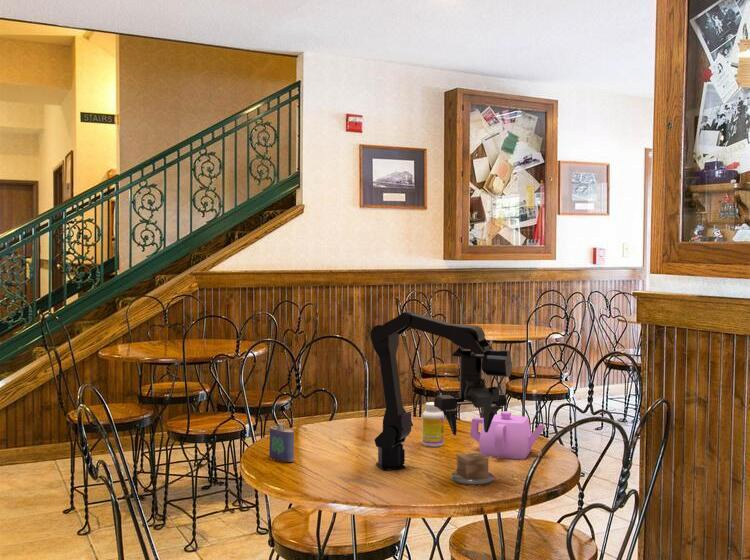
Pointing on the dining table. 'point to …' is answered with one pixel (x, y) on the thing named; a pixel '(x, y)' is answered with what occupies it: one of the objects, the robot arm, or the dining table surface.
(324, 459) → the dining table surface
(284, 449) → the flask
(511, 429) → the teakettle
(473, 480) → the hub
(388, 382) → the robot arm
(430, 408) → the supplement bottle
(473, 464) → the drawer-style box
